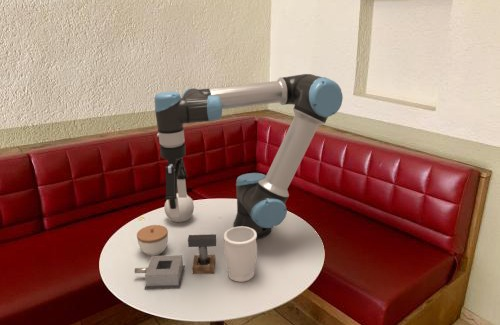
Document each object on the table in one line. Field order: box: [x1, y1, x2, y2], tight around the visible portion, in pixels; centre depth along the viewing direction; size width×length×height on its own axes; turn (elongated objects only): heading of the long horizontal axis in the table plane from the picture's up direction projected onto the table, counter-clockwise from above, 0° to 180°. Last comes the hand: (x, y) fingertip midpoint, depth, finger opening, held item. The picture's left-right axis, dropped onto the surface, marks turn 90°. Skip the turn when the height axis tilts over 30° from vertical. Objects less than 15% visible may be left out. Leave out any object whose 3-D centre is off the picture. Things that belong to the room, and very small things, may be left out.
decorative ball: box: [163, 192, 195, 223], centre depth 156 cm, size 12×12×12 cm
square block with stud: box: [134, 254, 186, 290], centre depth 121 cm, size 15×11×5 cm
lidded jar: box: [136, 224, 169, 257], centre depth 135 cm, size 11×11×9 cm
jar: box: [223, 226, 258, 283], centre depth 121 cm, size 11×10×15 cm
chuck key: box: [187, 233, 217, 265], centre depth 125 cm, size 9×3×12 cm, turn 91°
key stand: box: [191, 254, 216, 275], centre depth 127 cm, size 7×7×2 cm
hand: (179, 206), depth 122 cm, fingers open, 13 cm apart
